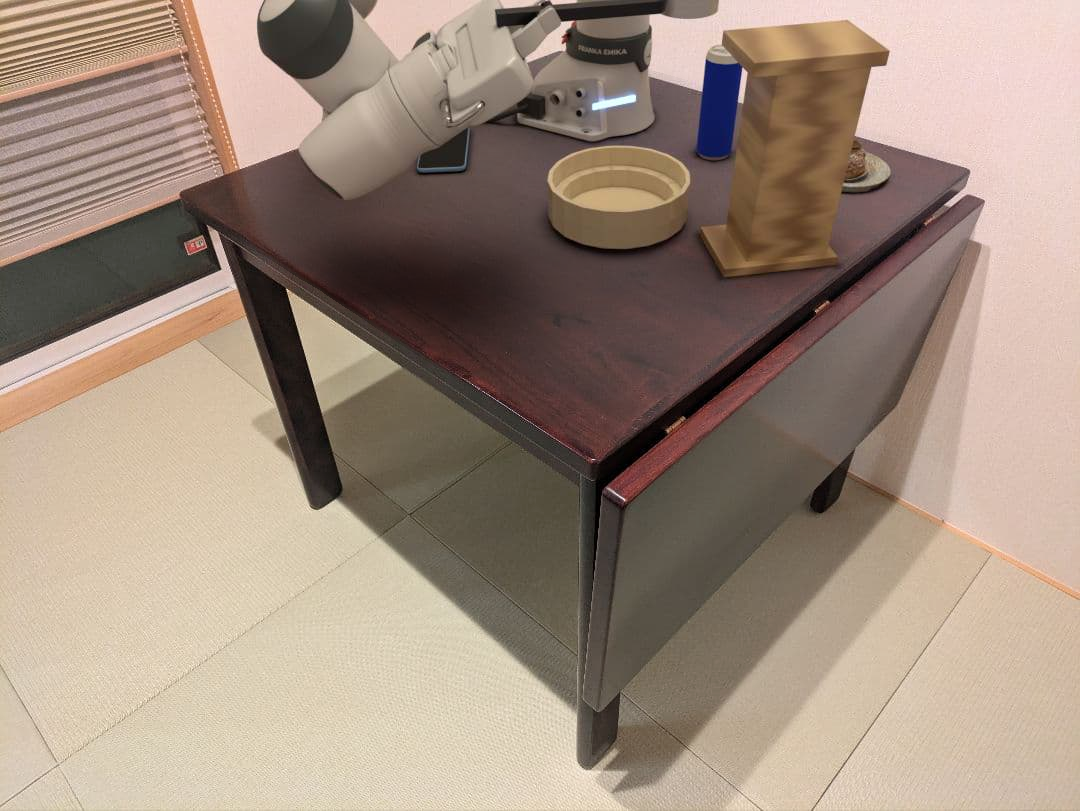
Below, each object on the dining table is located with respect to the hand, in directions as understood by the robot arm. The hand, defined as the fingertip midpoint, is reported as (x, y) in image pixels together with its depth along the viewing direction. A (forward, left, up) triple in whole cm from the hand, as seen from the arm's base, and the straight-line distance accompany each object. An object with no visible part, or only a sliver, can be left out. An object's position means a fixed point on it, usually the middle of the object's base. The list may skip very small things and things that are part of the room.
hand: (554, 8), depth 76 cm
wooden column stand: (+22, +14, -30) cm, 40 cm away
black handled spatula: (+4, +3, -1) cm, 5 cm away
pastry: (+28, +38, -30) cm, 56 cm away
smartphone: (-30, +25, -30) cm, 49 cm away
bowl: (+2, +15, -30) cm, 34 cm away
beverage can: (+9, +38, -30) cm, 49 cm away
